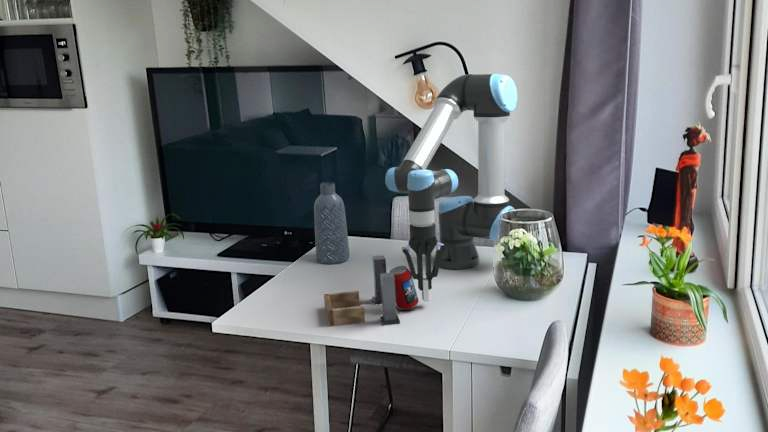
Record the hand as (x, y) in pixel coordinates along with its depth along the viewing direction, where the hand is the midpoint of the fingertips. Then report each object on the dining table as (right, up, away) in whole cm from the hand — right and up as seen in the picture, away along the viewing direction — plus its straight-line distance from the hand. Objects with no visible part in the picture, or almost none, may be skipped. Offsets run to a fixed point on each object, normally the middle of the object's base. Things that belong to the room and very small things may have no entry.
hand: (425, 299), depth 227 cm
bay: (-24, -4, -2) cm, 24 cm away
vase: (-31, +9, +51) cm, 60 cm away
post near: (-11, -5, -9) cm, 15 cm away
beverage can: (-5, -2, 0) cm, 5 cm away
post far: (-13, -1, +7) cm, 15 cm away
